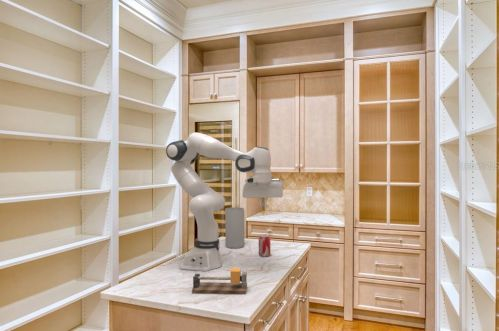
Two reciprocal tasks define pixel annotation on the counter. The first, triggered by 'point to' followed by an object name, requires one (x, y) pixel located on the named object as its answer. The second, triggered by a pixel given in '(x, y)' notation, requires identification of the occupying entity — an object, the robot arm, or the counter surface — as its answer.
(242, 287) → the cord board
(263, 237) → the soda can
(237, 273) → the notched orange cube
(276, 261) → the counter surface
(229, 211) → the cylinder vase
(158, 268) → the counter surface
